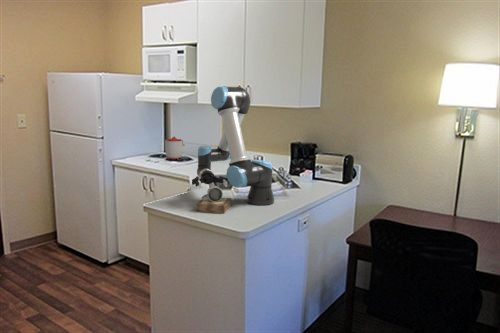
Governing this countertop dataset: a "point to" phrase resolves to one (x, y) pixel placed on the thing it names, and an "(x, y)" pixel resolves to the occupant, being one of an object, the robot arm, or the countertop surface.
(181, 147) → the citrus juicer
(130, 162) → the countertop surface
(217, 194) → the ceramic mug
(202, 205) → the block
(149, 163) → the countertop surface
